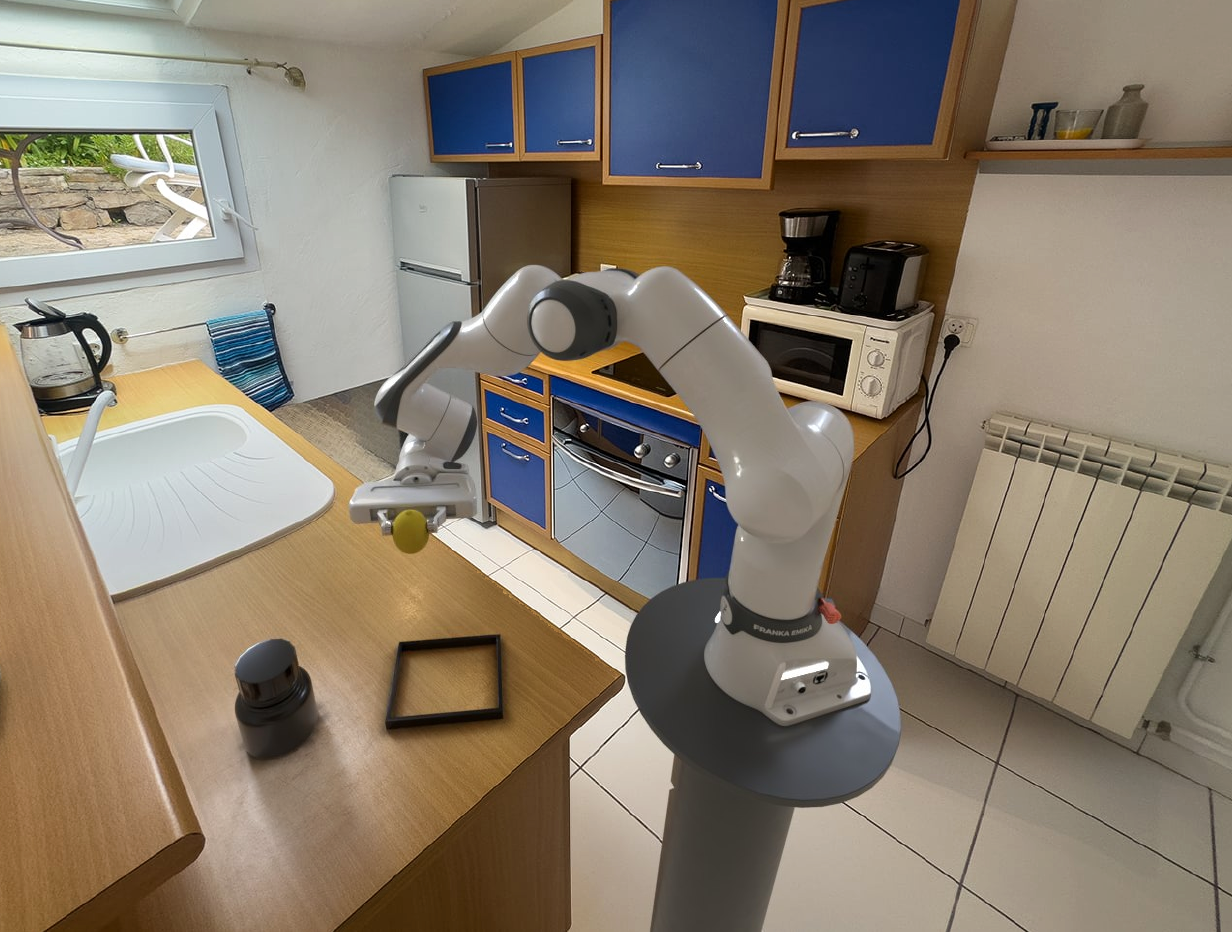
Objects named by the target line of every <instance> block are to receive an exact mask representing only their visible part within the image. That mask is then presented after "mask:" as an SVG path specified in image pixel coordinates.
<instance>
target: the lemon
mask: <svg viewBox="0 0 1232 932" xmlns="http://www.w3.org/2000/svg"><path fill="white" fill-rule="evenodd" d="M427 523H428V520H426V518H425V517H424V515H423V514H422V513H420V512H419V511H416V510H405V511H403V512H401V513H400V514H399V515H398V516H397V517H396V519H395V521H394V522H393V530H392V535H391V536H392V540H393V542H394V545H395V547H396V548H397V549H398V550H399V551H400V552H401V553H404V554H407V555H414V554H417V553H419V552H421V551H422V550H424V548H425V547H426V546H427V545H428V542H429V538H430V533H428V529H427Z"/></svg>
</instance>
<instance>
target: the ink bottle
mask: <svg viewBox="0 0 1232 932" xmlns="http://www.w3.org/2000/svg"><path fill="white" fill-rule="evenodd" d="M298 659H299V658H298V655H297V649H296V646H295V645H293V643H292V642H291V641H290V640H287V639H283V638H269V639H267V640H263V641H259V642H258V643H256V644H254V645H253V646H251V647H249V648H247V650H245V651H244V652H243V654H241V655H240V656H239V657H238V660H237V661H236V663H235V665H234V678H235V681H236V683H237V688H238V693H237V696H236V698H235V700H234V701H235V703H234V714H235V718H236V721H237V725H238V729H239V732H240V736H241V739H242V742H243V746H244V749H245V750H246V752H247V753H248V754H249V755H250V756H251V757H253V758H255V759H259V760H272V759H277V758H281V757H285V756H286V755H289V754H291V753H293V752H294V751H297V750H298V749H299V748H300V747H302V746H303V745H304V744H305V743H306V742H307V741H308V740H309V739H310V737H311V736H312V734H313V732H314V731H315V729H316V726H317V723H318V719H319V714H318V705H317V701H316V696H315V692H314V687H313V682H312V681H313V680H312V678H311V675H310V674H309V672H308V671H307V670H306V669H305V668H304V667H302V666H301V665H300V664H299V660H298Z"/></svg>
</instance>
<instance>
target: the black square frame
mask: <svg viewBox="0 0 1232 932" xmlns="http://www.w3.org/2000/svg"><path fill="white" fill-rule="evenodd" d="M501 638H502V637H501V633H496V634H494V633H493V634H480V635H471V636H458V637H444V638H431V639H430V638H429V639H418V640H417V639H415V640H406V641H405V640H404V641H403V640H402V641H399V642H398V645H397V650H396V656H395V660H394V661H395V662H394V668H393V672H392V673H393V674H392V679H391V685H390V691H389V696H388V703H387V708H386V712H385V713H386V715H385V718H384V719H385V720H384V725H385V730H386V731H389V730H400V729H409V728H411V729H412V728H420V727H432V726H443V725H452V724H463V723H475V722H485V721H496V720H504V700H503V695H504V694H503V671H502V670H503V669H502V667H503V666H502V640H501ZM494 645H496V660H497V661H496V664H497V666H496V669H497V707H490V708H481V709H479V708H478V709H469V710H457V711H445V712H435V713H425V714H415V715H414V714H413V715H403V716H394V711H395V705H396V699H397V694H398V686H399V681H400V675H401V669H402V668H401V667H402V661H403V655H404V652H405V653H406V652H416V651H417V652H418V651H430V650H443V649H455V648H469V647H479V646H480V647H482V646H494Z"/></svg>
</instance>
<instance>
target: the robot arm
mask: <svg viewBox="0 0 1232 932" xmlns="http://www.w3.org/2000/svg"><path fill="white" fill-rule="evenodd" d="M624 342H626V343H630V344H632V345H634V346H635V347H637V348H638V349H639V350H640V351H641V352H642V353H643V354H644V355H645V356H646V357H647V359H648V360H649V361H650V362H651V363H652V365H653V367H654V368H655V369H656V370H657V372H658V373H659V374H660V375H661V376H662V378H664V380H665V381H666V382H667V384H668V385H669V386H670V387H671V389H672V390H673V391H674V393H676V395H677V396H678V397H679V399H680V400H681V401H682V402H683V403H684V405H685V406H686V408H687V409H688V410H689V411H690V412H691V414H692V415H693V417H694V418H695V420H696V421H697V423H698V425H699V427H700V428H701V430H702V432H703V433H704V437H706V440H707V442H708V444H709V447H710V448H711V451H712V453H713V455H714V457H715V460H716V461H717V464H718V466H719V469H720V472H721V476H722V478H723V483H724V490H725V491H724V492H725V503H726V506H727V509H728V512H729V514H730V515H731V518H732V519H733V520H734V522H735V523H736V524H737V527H736V530H735V535H734V541H733V546H732V553H731V559H730V565H729V570H728V572H727V573H726V575H725V577H724V578H725V582H724V586H723V592H722V598H721V605H720V612H719V614H718V615H717V617H716V620H715V622H718V623H717V626H716V628H715V630H714V633H713V634H712V636H711V638H710V639H709V641H708V643H707V644H706V647H705V651H704V661H705V665H706V668H707V670H708V672H709V674H710V676H711V677H712V679H713V680H714V682H715V683H716V684H717V685H718V686H719V687H720V688H721V689H722V690H723V691H724V692H725V693H726V694H728V695H729V696H731V697H732V698H734V699H735V700H737V701H739V702H741V703H743V704H745V705H747V706H750V707H752V708H755V709H757V710H759V711H761V712H762V713H763V714H765V715H766V716H767V717H768V718H770V719H771V720H772V721H774V722H775V723H777V724H779V725H781V726H789V725H792V724H795V723H799V722H802V721H805V720H808V719H811V718H814V717H817V716H820V715H823V714H827V713H830V712H833V711H836V710H839V709H842V708H845V707H848V706H851V705H854V704H858V703H861V702H864V701H867V700H869V699H870V698H871V683H870V679H869V676H868V674H867V672H866V670H865V668H864V666H863V664H862V663H861V661H860V659H859V658H858V656H857V655H856V651H855V648H854V645H853V643H852V641H851V639H850V637H849V635H848V634H847V632H846V631H845V629H844V628H843V627H842V625H841V624H840V623H839V622H838V621H840V622H841V619H842V614H841V612H840V611H839V610H837V609H838V607H837V605H836V604H835V602H834V600H833V598H831V597H830V598H829V597H828V598H827V597H824V594H823V592H821V590H820V589H819V583H820V581H821V575H822V571H823V567H824V563H825V559H826V555H827V552H828V548H829V545H830V541H831V539H832V535H833V531H834V528H835V525H836V521H837V518H838V514H839V512H840V508H841V504H842V501H843V497H844V494H845V490H846V487H847V483H848V479H849V476H850V472H851V469H852V464H853V462H854V457H855V435H854V430H853V426H852V423H851V422H850V420H849V419H848V417H847V416H846V415H845V413H843V412H842V411H841V410H840V409H838V408H836V407H835V406H833V405H831V404H830V403H829V404H828V403H826V402H822V401H815V400H812V401H809V400H808V401H803V402H800V403H797V404H795V405H792V406H790V407H787V406H786V404H785V402H784V400H783V399H782V396H781V395H780V392H779V390H778V388H777V386H776V384H775V381H774V377H773V373H772V369H771V367H770V364H769V362H768V360H767V359H766V358H765V357H764V356H763V355H762V353H760V351H759V349H757V348H756V346H755V345H753V343H752V341H750V340H749V338H748V337H747V336H746V335H745V334H744V333H743V331H742V330H741V329H740V328H739V326H738V325H736V323H735V322H734V321H733V319H731V317H730V316H728V314H727V313H726V311H724V310H723V308H722V307H721V306H720V304H718V303H717V302H716V301H715V300H714V299H713V298H712V297H711V296H710V295H709V294H708V293H707V292H706V291H705V290H704V289H702V288H701V286H699V285H698V284H696V283H695V282H694V281H693V280H692V279H690V278H689V277H688V276H687V275H686V274H684V273H683V272H682V271H681V270H680V269H679V270H678V269H677V268H675V267H673V266H669V265H668V266H667V265H663V266H662V265H661V266H656V267H653V268H651V269H648V270H646V271H644V272H642V273H641V274H639V273H637V272H635V271H633V270H630V269H626V268H619V267H618V268H617V267H613V268H606V269H603V270H597V271H586V272H585V271H584V272H581V273H579V274H575V275H573V276H570V277H568V278H566V279H563V278H562V277H561V276H560V275H559V274H558V273H557V272H555V271H554V270H552V269H550V268H549V267H547V266H545V265H539V264H530V265H524V266H523V267H521V268H519V269H518V270H516V271H515V273H514V274H512V275H511V276H510V277H509V278H508V279H507V280H506V281H505V282H504V283H503V284H502V285H501V286H500V288H499V289H498V290H497V291H496V292H495V294H494V295H493V296H492V297H491V298H490V300H489V301H488V303H487V304H486V306H485V307H484V308H483V310H482V311H481V312H480V313H478V314H476V315H475V316H473V317H472V318H468V319H466V320H463V321H461V320H459V321H454V320H453V321H451V322H449V323H447V324H445V326H443V327H442V328H441V329H440V330H439V331H438V332H437V333H435V334H434V335H433V336H432V337H431V338H430V339H429V340H428V341H427V342H426V343H425V344H424V345H423V346H422V347H421V348H420V349H419V350H418V351H416V353H415V354H414V355H413V356H412V357H411V358H410V359H409V361H407V362H406V363H405V364H404V365H403V366H402V367H401V368H400V369H398V370H397V371H396V372H395V373H393V374H392V375H391V376H390V377H389V378H388V379H386V380H385V382H384V383H383V384H381V386H380V388H379V390H378V391H377V394H376V395H375V399H374V404H373V409H374V412H375V414H376V416H377V418H378V420H379V422H380V424H381V425H383V426H387V427H389V428H391V429H395V430H399V431H401V432H403V433H406V434H407V436H406V438H405V440H404V442H403V444H402V447H401V449H400V453H399V456H398V463H397V464H396V467H395V470H394V475H393V478H392V480H377V481H368V482H365V483H362V484H361V485H359V486H357V487H356V488H355V490H354V493H353V495H352V497H351V499H350V500H349V503H348V514H349V518H350V520H351V522H352V523H354V524H356V525H360V524H361V525H363V524H378V525H379V526H380V529H381V536H382V537H386V536H392V530H393V523H394V521H395V519H396V517H397V516H398V515H399V514H400V513H401V512H403V511H405V510H416V511H419V512H420V513H422V514H423V515H424V517H425V518H426V520H427V529H428V533H429V534H438V532H439V528H440V527H441V526H442V525H443V524H444V523H445V522H447V520H457V519H472V518H475V516H476V515H477V514H478V499H477V489H476V484H475V481H474V479H473V477H472V476H471V475H470V469H469V465H468V464H466V463H462V462H457V461H459V460H460V459H461V458H462V457H464V455H465V454H466V453H467V452H468V450H469V449H470V447H471V446H472V443H473V441H474V439H475V437H476V432H477V428H478V417H477V412H476V409H475V407H474V405H473V404H470V403H468V402H466V401H465V400H462V399H461V398H459V397H456V396H455V395H453V394H449V393H448V392H445V391H444V390H442V389H439V388H438V387H435V386H434V385H432V384H431V383H430V384H429V383H428V381H429V380H430V379H431V378H432V377H433V376H434V375H435V374H436V373H437V372H439V371H441V370H443V369H444V370H445V369H457V370H465V371H469V372H474V373H478V374H481V375H486V376H489V377H511V376H514V375H517V374H519V373H521V372H522V371H524V370H525V369H526V368H528V367H529V366H530V365H531V364H532V363H533V362H535V360H536V359H537V358H538V356H540V354H541V353H542V354H543V355H544V356H546V357H547V358H549V359H552V360H554V361H560V362H569V361H570V362H571V361H572V362H573V361H579V360H583V359H587V358H588V357H591V356H593V355H594V354H597V353H599V352H602V351H608V350H610V349H613V348H615V347H617V346H619V345H620V344H622V343H624ZM861 679H862V680H861ZM787 712H789V713H791V714H789V713H787Z"/></svg>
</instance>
